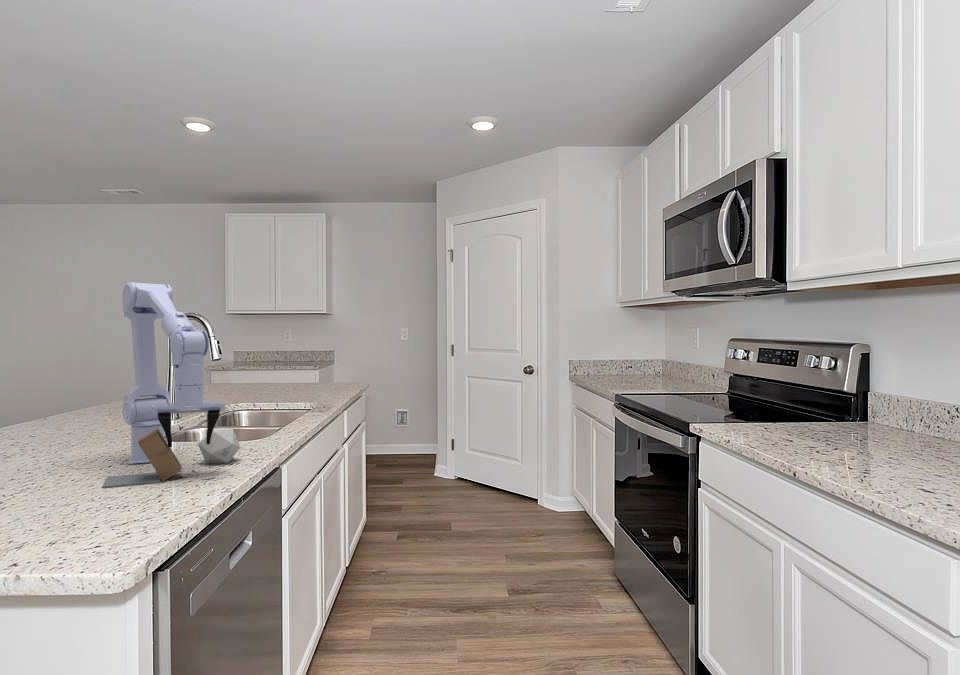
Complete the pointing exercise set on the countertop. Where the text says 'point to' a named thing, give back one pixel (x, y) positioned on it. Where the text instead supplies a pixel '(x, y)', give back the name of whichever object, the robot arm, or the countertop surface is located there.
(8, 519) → the countertop surface
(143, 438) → the walnut block
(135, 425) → the robot arm
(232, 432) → the die
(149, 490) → the countertop surface
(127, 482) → the mat
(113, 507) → the countertop surface
